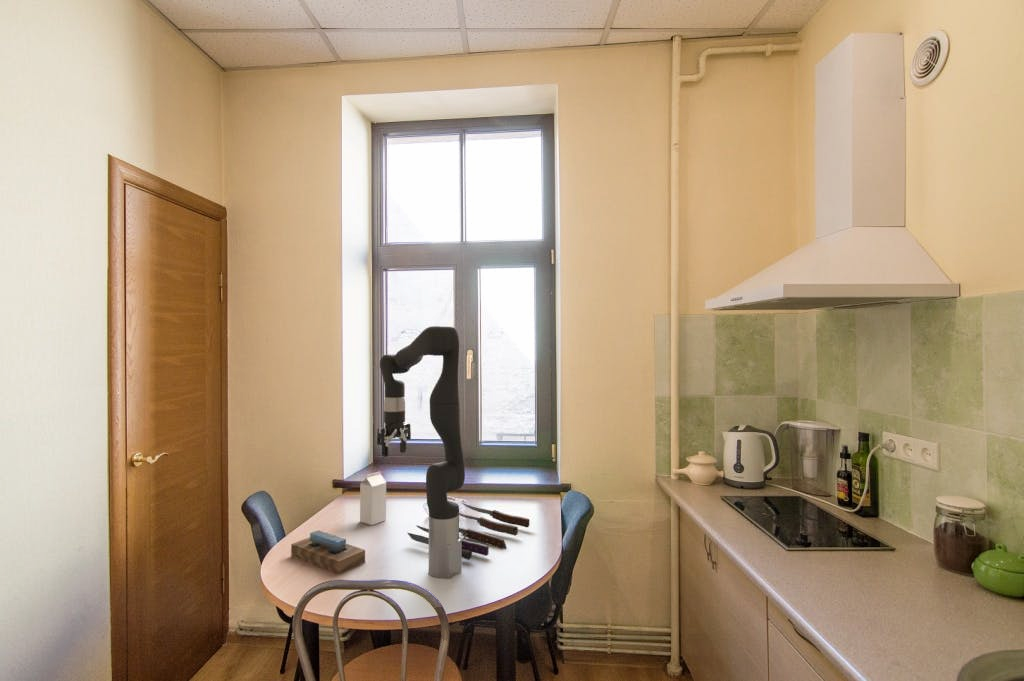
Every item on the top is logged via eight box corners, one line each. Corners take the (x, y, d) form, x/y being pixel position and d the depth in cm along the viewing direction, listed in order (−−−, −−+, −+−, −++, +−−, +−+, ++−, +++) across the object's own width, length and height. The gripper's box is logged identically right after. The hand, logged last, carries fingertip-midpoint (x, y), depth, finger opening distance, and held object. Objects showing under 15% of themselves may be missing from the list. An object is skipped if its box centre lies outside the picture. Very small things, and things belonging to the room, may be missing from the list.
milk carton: (386, 520, 192) (386, 472, 192) (371, 525, 186) (372, 476, 186) (374, 517, 196) (374, 469, 196) (359, 522, 190) (360, 473, 190)
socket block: (365, 562, 153) (365, 549, 153) (338, 574, 145) (338, 561, 145) (317, 546, 166) (318, 534, 166) (291, 556, 158) (291, 544, 158)
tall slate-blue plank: (345, 563, 153) (345, 539, 153) (337, 566, 151) (337, 542, 151) (317, 553, 161) (318, 530, 161) (309, 556, 158) (310, 533, 158)
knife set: (461, 512, 198) (461, 494, 197) (531, 532, 181) (531, 512, 180) (399, 543, 168) (400, 521, 167) (477, 571, 151) (477, 546, 150)
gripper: (387, 412, 166) (386, 459, 166) (416, 408, 178) (415, 452, 178) (372, 410, 170) (371, 456, 170) (401, 406, 182) (401, 450, 182)
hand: (394, 454), depth 174 cm, fingers open, 8 cm apart
